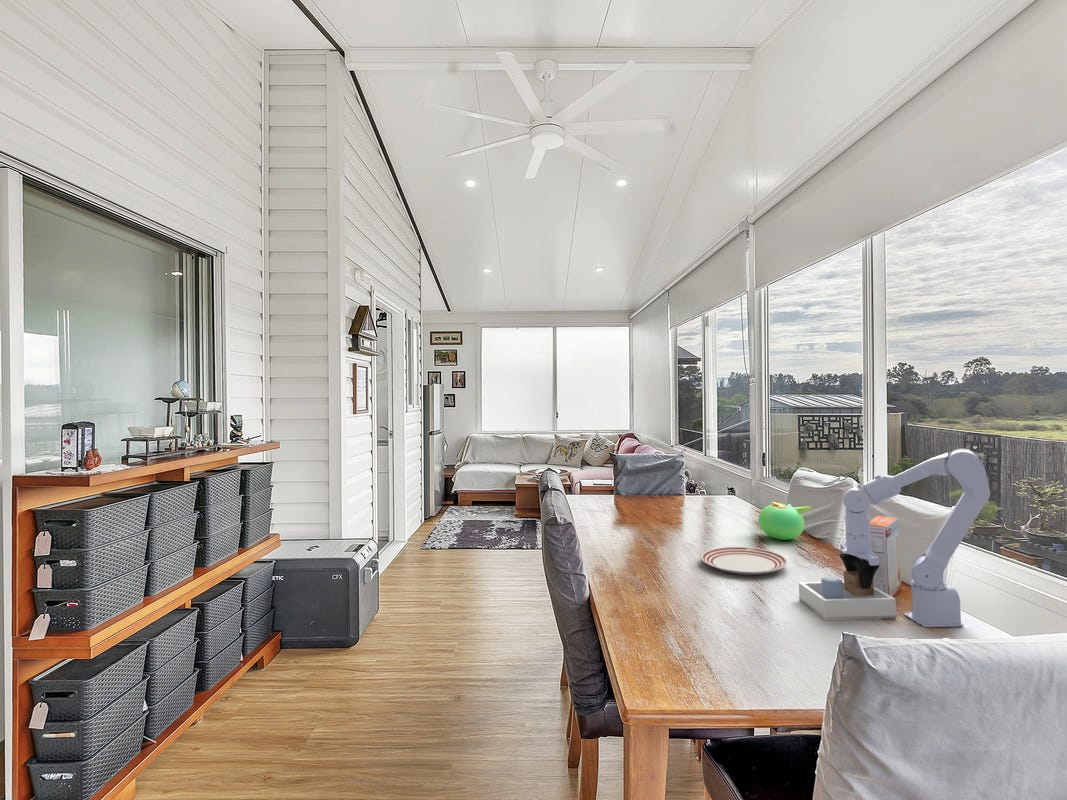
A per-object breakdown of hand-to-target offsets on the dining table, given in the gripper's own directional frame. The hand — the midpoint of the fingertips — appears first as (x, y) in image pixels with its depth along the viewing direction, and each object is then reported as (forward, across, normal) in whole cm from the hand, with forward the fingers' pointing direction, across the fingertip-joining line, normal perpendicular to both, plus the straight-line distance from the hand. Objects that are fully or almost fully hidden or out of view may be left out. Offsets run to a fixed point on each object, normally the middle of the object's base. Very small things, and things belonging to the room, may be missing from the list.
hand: (859, 584), depth 145 cm
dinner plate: (+7, -39, -17) cm, 43 cm away
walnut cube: (+2, 0, 0) cm, 2 cm away
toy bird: (+7, -73, +11) cm, 74 cm away
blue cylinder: (+6, 0, -7) cm, 9 cm away
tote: (+6, 0, -4) cm, 8 cm away
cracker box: (+7, -11, +13) cm, 18 cm away
